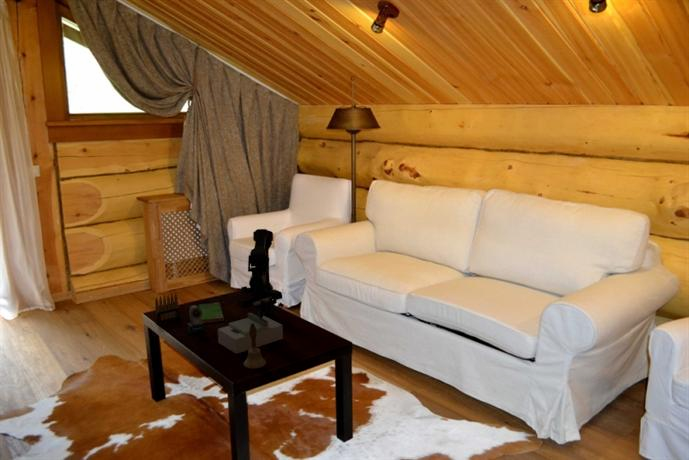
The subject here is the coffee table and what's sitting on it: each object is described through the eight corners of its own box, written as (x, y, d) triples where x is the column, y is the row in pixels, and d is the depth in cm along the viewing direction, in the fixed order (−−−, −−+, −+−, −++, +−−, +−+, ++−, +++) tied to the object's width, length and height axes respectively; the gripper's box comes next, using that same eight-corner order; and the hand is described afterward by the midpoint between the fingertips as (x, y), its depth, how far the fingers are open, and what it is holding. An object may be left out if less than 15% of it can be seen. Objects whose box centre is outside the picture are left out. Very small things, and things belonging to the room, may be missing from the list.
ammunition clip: (178, 317, 262) (176, 292, 259) (180, 318, 261) (178, 293, 258) (155, 322, 255) (153, 297, 253) (157, 324, 254) (155, 298, 251)
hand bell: (256, 370, 210) (254, 329, 206) (239, 365, 214) (237, 325, 210) (270, 361, 217) (269, 322, 213) (253, 357, 221) (252, 317, 217)
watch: (192, 335, 242) (190, 310, 239) (186, 328, 248) (184, 304, 246) (205, 332, 245) (203, 307, 242) (199, 326, 251) (197, 302, 249)
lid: (250, 319, 242) (250, 312, 241) (268, 328, 232) (267, 321, 232) (228, 326, 235) (228, 318, 235) (245, 335, 226) (245, 327, 225)
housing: (264, 328, 248) (263, 315, 247) (282, 338, 237) (282, 325, 236) (218, 342, 234) (217, 329, 233) (236, 353, 224) (235, 339, 222)
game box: (201, 325, 255) (198, 308, 273) (224, 323, 257) (219, 306, 276) (201, 319, 254) (198, 302, 273) (223, 317, 257) (219, 300, 275)
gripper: (267, 273, 245) (268, 307, 249) (228, 282, 234) (230, 318, 237) (282, 279, 237) (283, 314, 241) (243, 289, 225) (245, 326, 229)
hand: (260, 318), depth 237 cm, fingers closed
